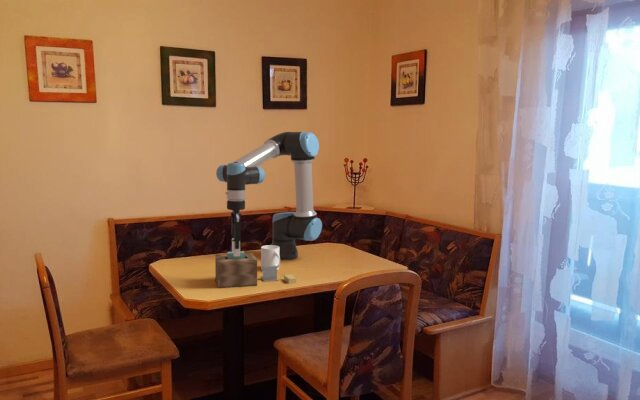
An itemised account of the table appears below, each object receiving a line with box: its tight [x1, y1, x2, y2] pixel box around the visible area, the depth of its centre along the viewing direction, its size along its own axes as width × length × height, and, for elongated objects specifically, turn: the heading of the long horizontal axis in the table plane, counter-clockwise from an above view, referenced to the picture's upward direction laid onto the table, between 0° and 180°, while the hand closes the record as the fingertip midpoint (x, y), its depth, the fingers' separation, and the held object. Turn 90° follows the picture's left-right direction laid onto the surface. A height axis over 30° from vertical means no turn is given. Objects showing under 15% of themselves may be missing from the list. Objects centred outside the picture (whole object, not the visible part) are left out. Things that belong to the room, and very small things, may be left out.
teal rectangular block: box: [226, 250, 246, 259], centre depth 218 cm, size 7×3×2 cm, turn 106°
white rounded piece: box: [260, 244, 281, 271], centre depth 241 cm, size 9×12×11 cm
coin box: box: [214, 252, 258, 289], centre depth 219 cm, size 16×13×11 cm
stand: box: [260, 266, 279, 282], centre depth 226 cm, size 6×6×6 cm
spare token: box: [283, 273, 297, 285], centre depth 223 cm, size 7×3×2 cm, turn 21°
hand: (235, 254), depth 218 cm, fingers open, 5 cm apart
